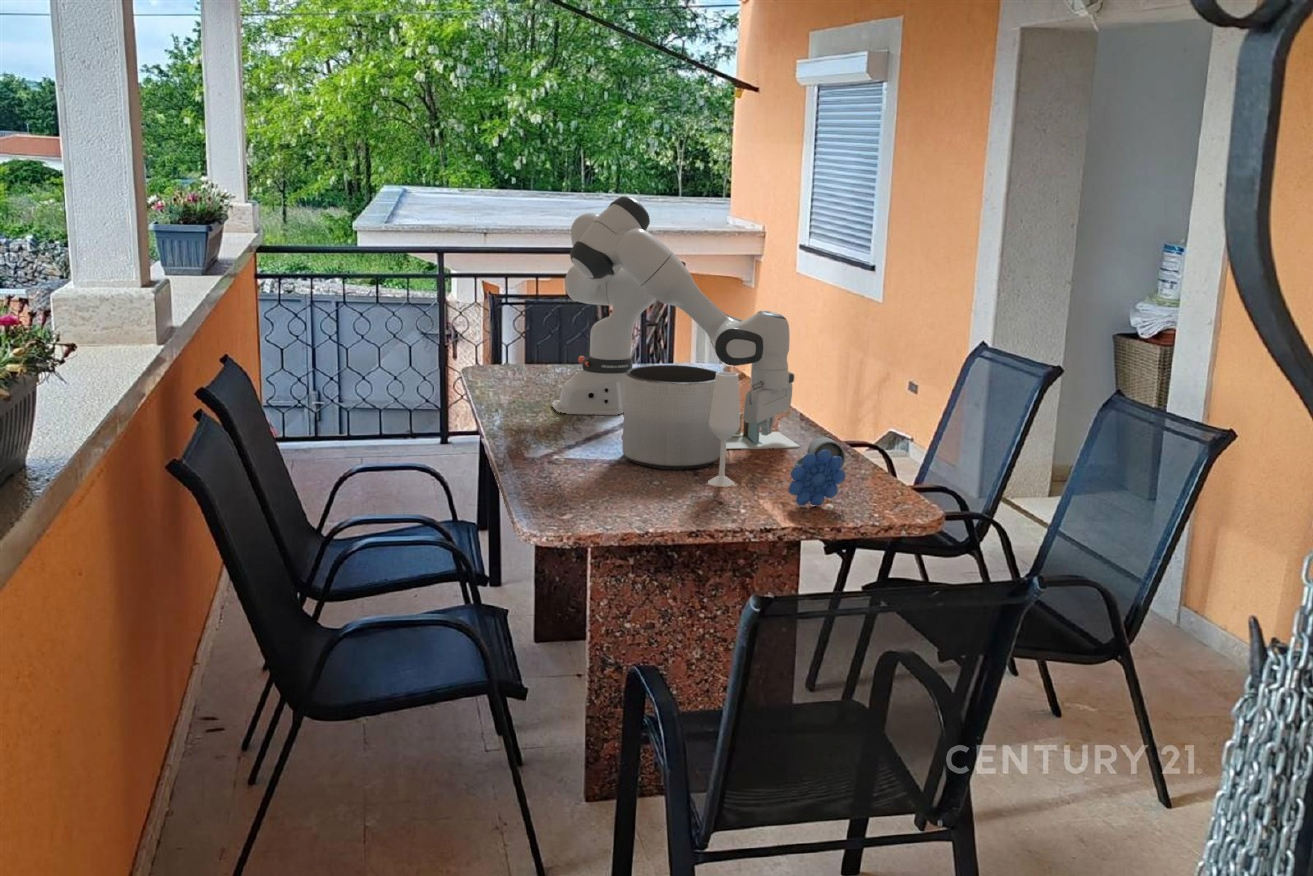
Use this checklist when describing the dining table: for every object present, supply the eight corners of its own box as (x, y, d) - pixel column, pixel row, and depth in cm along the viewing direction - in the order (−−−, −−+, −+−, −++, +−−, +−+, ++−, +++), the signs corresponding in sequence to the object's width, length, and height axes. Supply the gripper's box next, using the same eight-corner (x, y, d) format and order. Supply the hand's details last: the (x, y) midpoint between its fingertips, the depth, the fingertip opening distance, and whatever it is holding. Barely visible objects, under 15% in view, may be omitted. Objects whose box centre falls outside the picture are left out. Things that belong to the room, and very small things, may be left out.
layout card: (717, 450, 292) (717, 448, 291) (699, 435, 306) (699, 433, 306) (799, 447, 297) (800, 445, 297) (778, 433, 311) (778, 431, 311)
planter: (635, 473, 268) (639, 383, 264) (612, 448, 290) (614, 365, 285) (733, 470, 274) (737, 382, 270) (702, 445, 296) (706, 364, 291)
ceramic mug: (836, 466, 282) (837, 433, 280) (844, 475, 274) (846, 442, 272) (790, 466, 281) (792, 433, 279) (797, 475, 273) (799, 442, 271)
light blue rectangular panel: (747, 435, 303) (748, 414, 302) (751, 435, 303) (752, 414, 302) (755, 443, 295) (756, 422, 294) (759, 443, 296) (760, 422, 294)
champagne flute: (711, 488, 259) (717, 377, 253) (701, 480, 265) (706, 371, 259) (741, 487, 260) (747, 376, 255) (730, 479, 267) (736, 370, 261)
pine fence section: (703, 439, 301) (704, 412, 300) (700, 437, 303) (701, 411, 302) (753, 438, 305) (754, 411, 303) (750, 436, 307) (751, 410, 305)
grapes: (836, 500, 254) (840, 444, 251) (846, 510, 247) (850, 452, 244) (782, 500, 252) (785, 444, 249) (790, 510, 245) (794, 452, 243)
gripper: (763, 387, 284) (760, 445, 287) (797, 373, 301) (794, 428, 305) (738, 384, 287) (736, 441, 290) (774, 370, 304) (771, 424, 308)
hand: (766, 434), depth 298 cm, fingers closed
